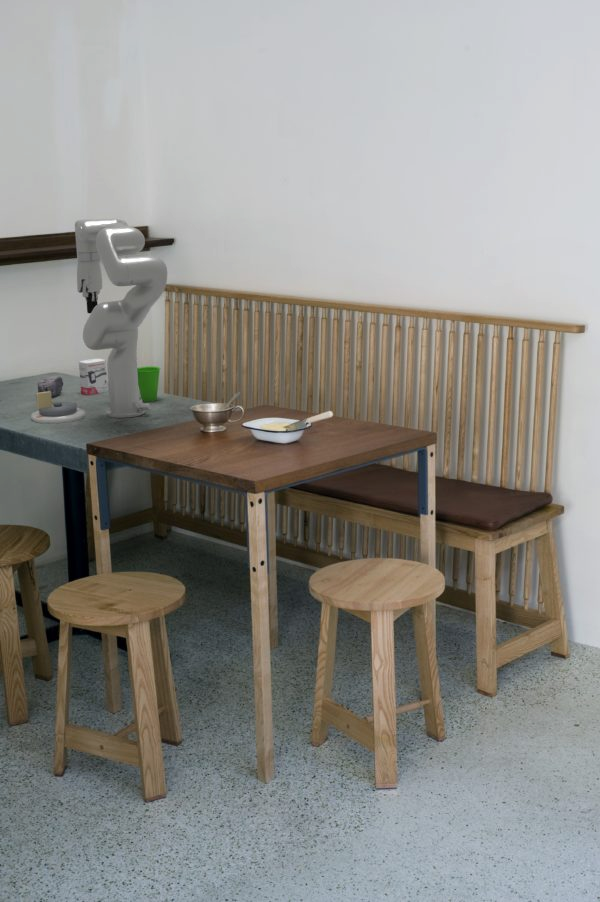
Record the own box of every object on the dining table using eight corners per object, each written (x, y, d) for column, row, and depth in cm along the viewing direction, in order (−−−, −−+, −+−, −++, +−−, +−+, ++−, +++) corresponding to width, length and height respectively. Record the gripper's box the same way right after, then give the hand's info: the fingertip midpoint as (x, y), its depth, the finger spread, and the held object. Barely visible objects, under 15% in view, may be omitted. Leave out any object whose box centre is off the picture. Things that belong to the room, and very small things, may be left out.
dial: (69, 406, 365) (68, 385, 363) (82, 412, 355) (80, 391, 353) (32, 411, 359) (31, 390, 357) (44, 418, 349) (42, 396, 347)
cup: (167, 398, 381) (165, 367, 379) (150, 403, 374) (148, 372, 371) (147, 396, 386) (145, 365, 383) (130, 401, 379) (128, 369, 376)
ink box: (88, 395, 391) (86, 362, 388) (80, 393, 394) (78, 361, 391) (108, 391, 396) (106, 359, 393) (100, 390, 400) (98, 358, 397)
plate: (94, 412, 363) (93, 407, 362) (70, 424, 347) (69, 418, 347) (47, 410, 367) (47, 405, 367) (22, 422, 352) (21, 416, 351)
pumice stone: (33, 403, 391) (52, 398, 385) (26, 383, 390) (45, 377, 384) (53, 397, 399) (72, 392, 393) (47, 377, 398) (66, 371, 392)
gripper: (88, 255, 372) (92, 309, 377) (68, 259, 358) (72, 315, 363) (108, 255, 370) (112, 310, 375) (89, 259, 356) (93, 316, 361)
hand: (92, 312), depth 369 cm, fingers closed
